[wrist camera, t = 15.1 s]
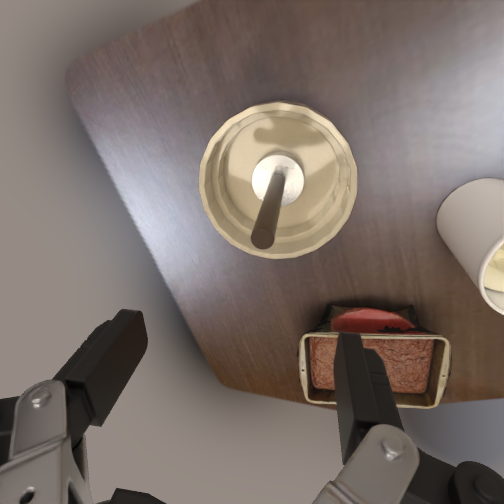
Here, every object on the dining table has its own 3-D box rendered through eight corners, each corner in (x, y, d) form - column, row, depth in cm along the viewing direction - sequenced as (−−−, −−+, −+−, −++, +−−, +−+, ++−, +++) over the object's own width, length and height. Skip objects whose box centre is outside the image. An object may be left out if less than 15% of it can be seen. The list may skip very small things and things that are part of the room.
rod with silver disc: (244, 174, 35) (204, 235, 21) (280, 138, 33) (263, 179, 19) (277, 209, 37) (261, 288, 22) (314, 177, 34) (323, 243, 20)
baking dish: (308, 281, 44) (296, 333, 36) (452, 301, 39) (475, 366, 31) (305, 350, 51) (294, 406, 43) (425, 374, 46) (437, 442, 38)
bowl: (188, 171, 37) (169, 185, 31) (284, 64, 30) (280, 59, 25) (275, 257, 40) (271, 282, 35) (377, 178, 34) (391, 195, 29)
